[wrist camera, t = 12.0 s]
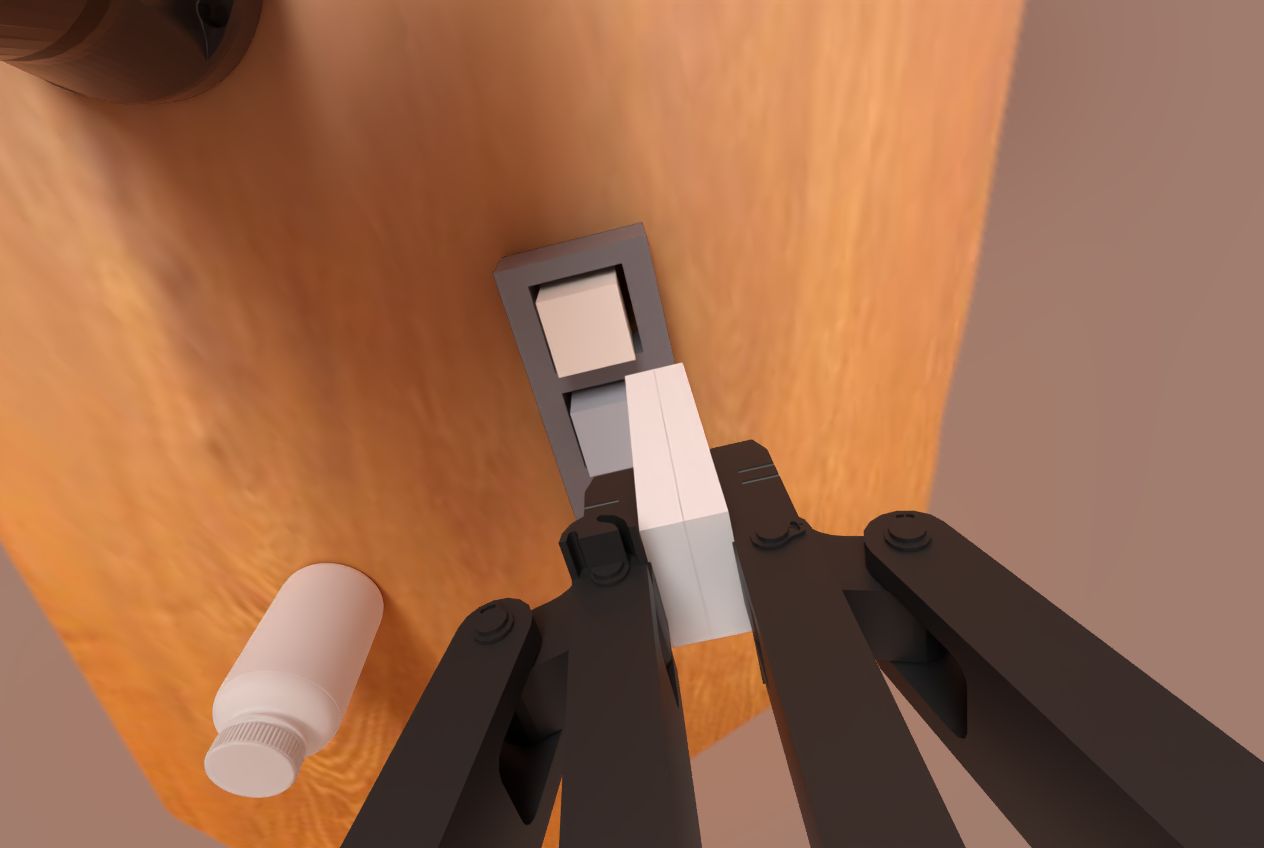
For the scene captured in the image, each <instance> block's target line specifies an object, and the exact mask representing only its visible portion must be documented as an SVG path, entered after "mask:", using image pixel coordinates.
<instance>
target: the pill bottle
mask: <svg viewBox="0 0 1264 848" xmlns="http://www.w3.org/2000/svg"><path fill="white" fill-rule="evenodd" d="M383 610H384V604H383V598H382V595H381V593H380V591H379V589H378V587H377V586H376V584H375V583H374V582H373V581H372V580H371V579H370V578H369V577H367V576H366V575H365V574H363V573H362V572H360V571H358V570H356V569H354V568H351V567H349V566H345V565H341V564H335V563H318V564H313V565H309V566H306V567H304V568H302V569H300V570H298V571H297V572H295V573H294V574H293V575H291V576H290V577H289V578H288V580H287V581H286V582H285V583H284V585H283V586H282V587H281V589H280V591H279V592H278V594H277V596H276V597H275V599H274V600H273V602H272V604H271V605H270V607H269V609H268V610H267V612H266V613H265V615H264V617H263V618H262V620H261V622H260V623H259V625H258V626H257V628H256V630H255V631H254V633H253V635H252V636H251V638H250V639H249V641H248V643H247V644H246V646H245V648H244V649H243V651H242V652H241V654H240V656H239V657H238V659H237V661H236V662H235V664H234V665H233V667H232V669H231V670H230V672H229V674H228V675H227V677H226V679H225V680H224V682H223V683H222V685H221V687H220V688H219V690H218V692H217V694H216V697H215V700H214V705H213V722H214V725H215V728H216V730H217V732H218V733H219V734H218V736H217V737H216V739H215V740H214V742H213V744H212V746H211V747H210V749H209V751H208V753H207V755H206V757H205V761H204V763H205V764H204V766H205V771H206V773H207V775H208V777H209V778H210V779H211V780H212V781H213V782H214V783H215V784H216V785H217V786H219V787H220V788H222V789H224V790H226V791H228V792H230V793H233V794H236V795H240V796H245V797H257V798H258V797H269V796H273V795H277V794H279V793H281V792H283V791H285V790H287V789H288V788H289V787H290V786H291V785H292V784H293V783H294V782H295V780H296V778H297V775H298V773H299V771H300V768H301V766H302V764H303V761H304V758H306V757H309V756H311V755H313V754H315V753H317V752H318V751H320V750H321V749H323V748H324V747H325V746H326V745H327V744H328V743H329V742H330V741H331V740H332V738H333V737H334V736H335V735H336V733H337V731H338V729H339V727H340V725H341V723H342V720H343V717H344V715H345V712H346V710H347V707H348V705H349V702H350V700H351V697H352V694H353V692H354V689H355V687H356V684H357V682H358V679H359V676H360V674H361V671H362V669H363V666H364V664H365V661H366V658H367V656H368V653H369V651H370V648H371V646H372V643H373V641H374V638H375V635H376V633H377V630H378V628H379V625H380V623H381V619H382V615H383Z"/></svg>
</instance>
